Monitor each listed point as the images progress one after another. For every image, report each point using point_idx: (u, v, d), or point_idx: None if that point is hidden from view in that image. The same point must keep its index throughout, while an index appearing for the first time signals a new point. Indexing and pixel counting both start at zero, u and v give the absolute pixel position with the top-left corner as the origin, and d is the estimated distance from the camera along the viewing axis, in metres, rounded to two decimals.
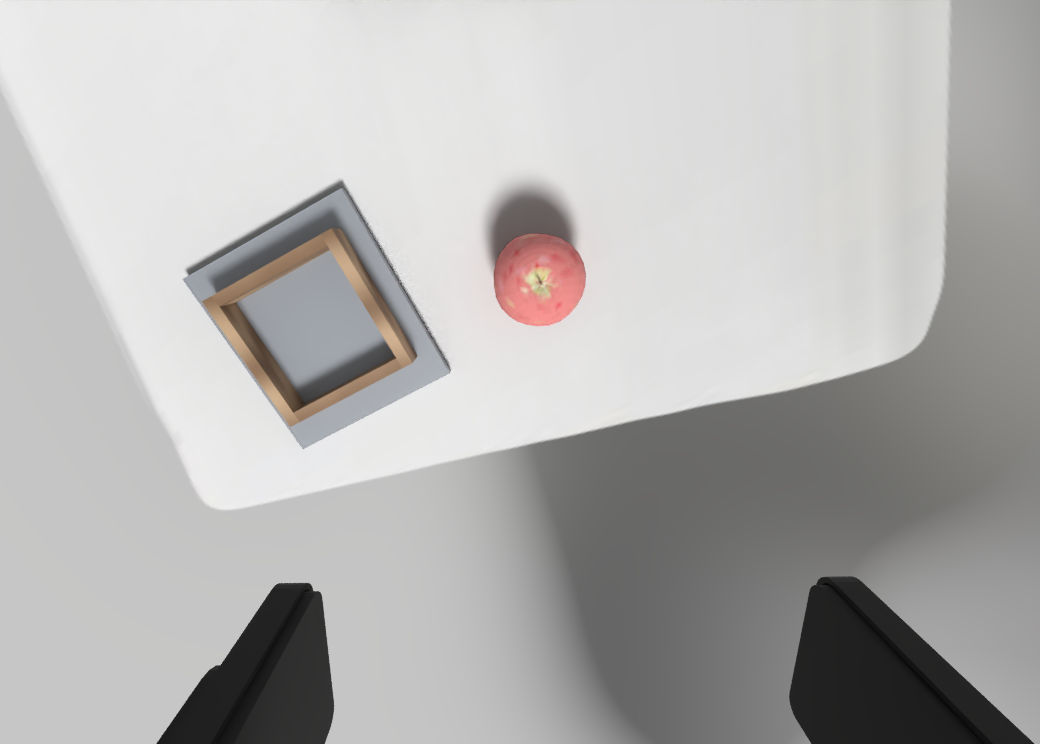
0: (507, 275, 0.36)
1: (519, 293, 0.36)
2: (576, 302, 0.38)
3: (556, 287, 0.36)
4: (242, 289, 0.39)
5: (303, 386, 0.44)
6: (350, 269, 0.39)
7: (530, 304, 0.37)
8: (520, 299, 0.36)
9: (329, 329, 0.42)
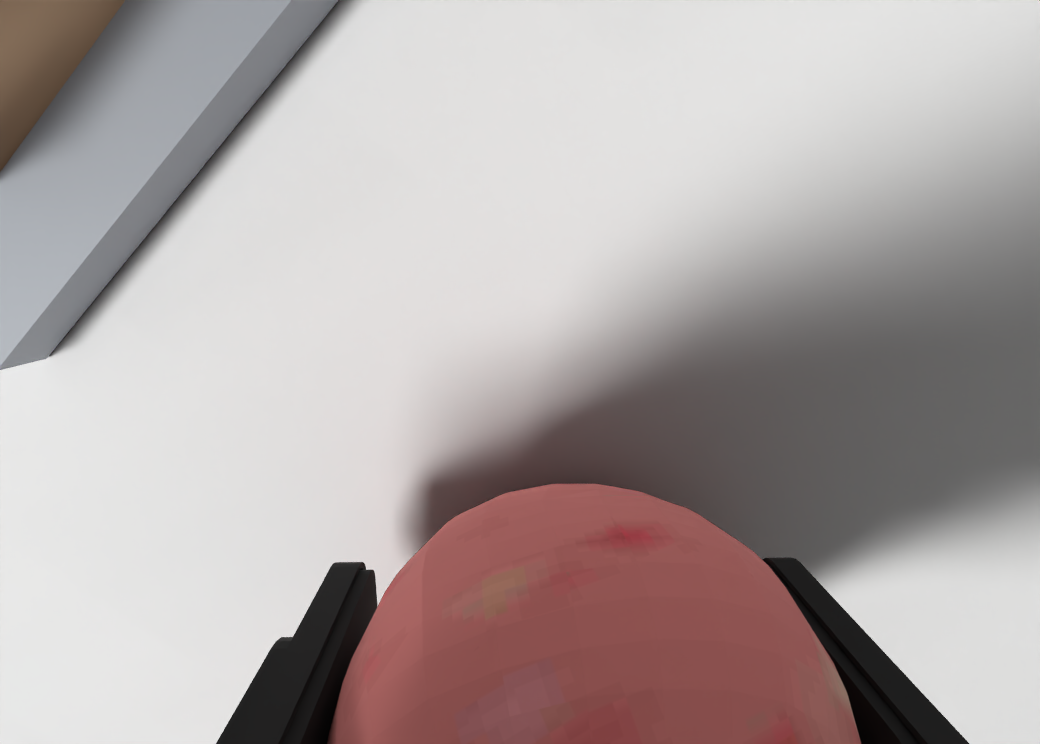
0: None
1: None
2: None
3: None
4: None
5: None
6: None
7: None
8: None
9: None
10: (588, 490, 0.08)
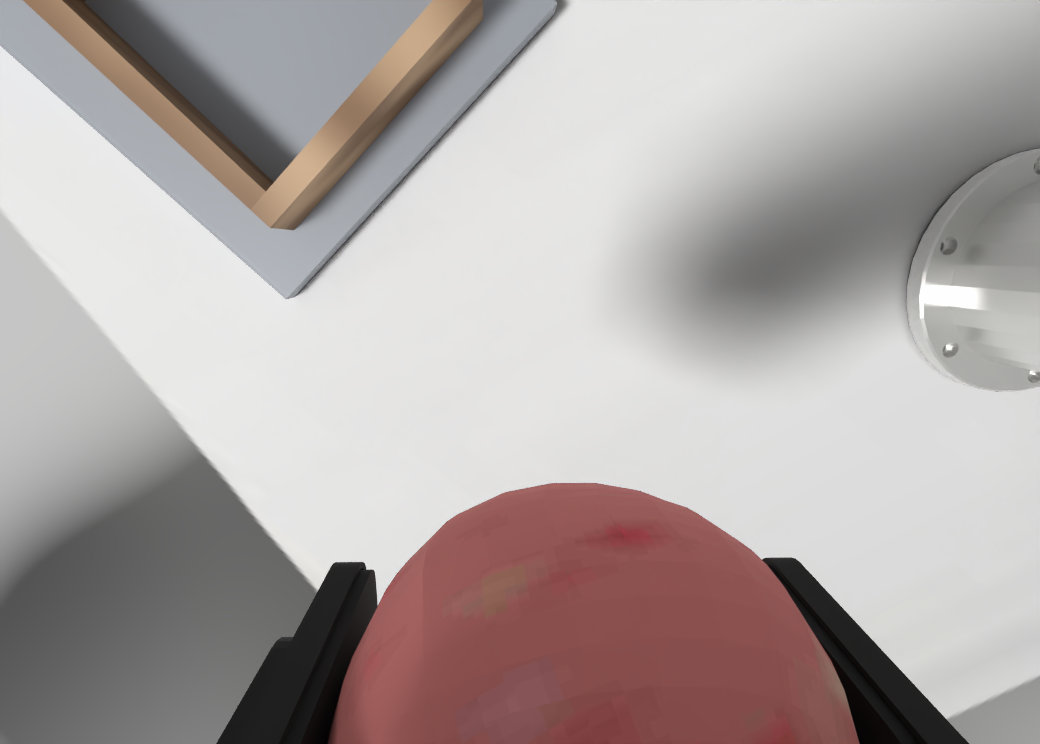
0: None
1: None
2: None
3: None
4: None
5: None
6: (413, 49, 0.18)
7: None
8: None
9: (275, 31, 0.20)
10: (587, 489, 0.08)
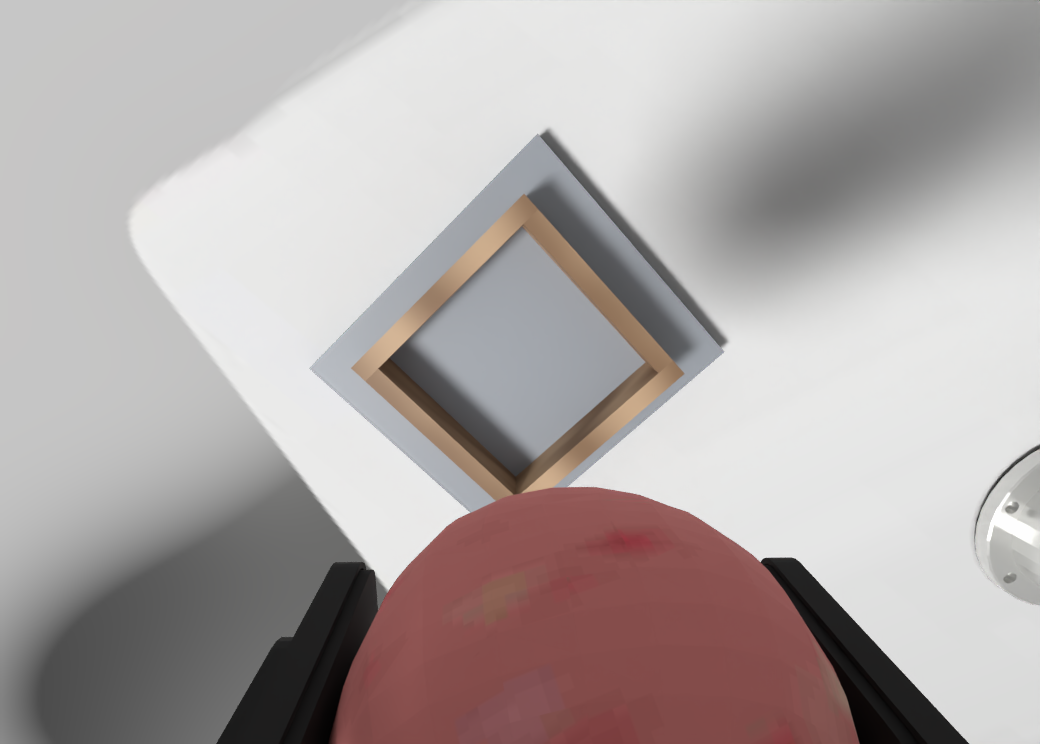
0: None
1: None
2: None
3: None
4: (561, 258, 0.24)
5: (416, 351, 0.27)
6: (631, 410, 0.26)
7: None
8: None
9: (519, 373, 0.28)
10: (588, 494, 0.08)
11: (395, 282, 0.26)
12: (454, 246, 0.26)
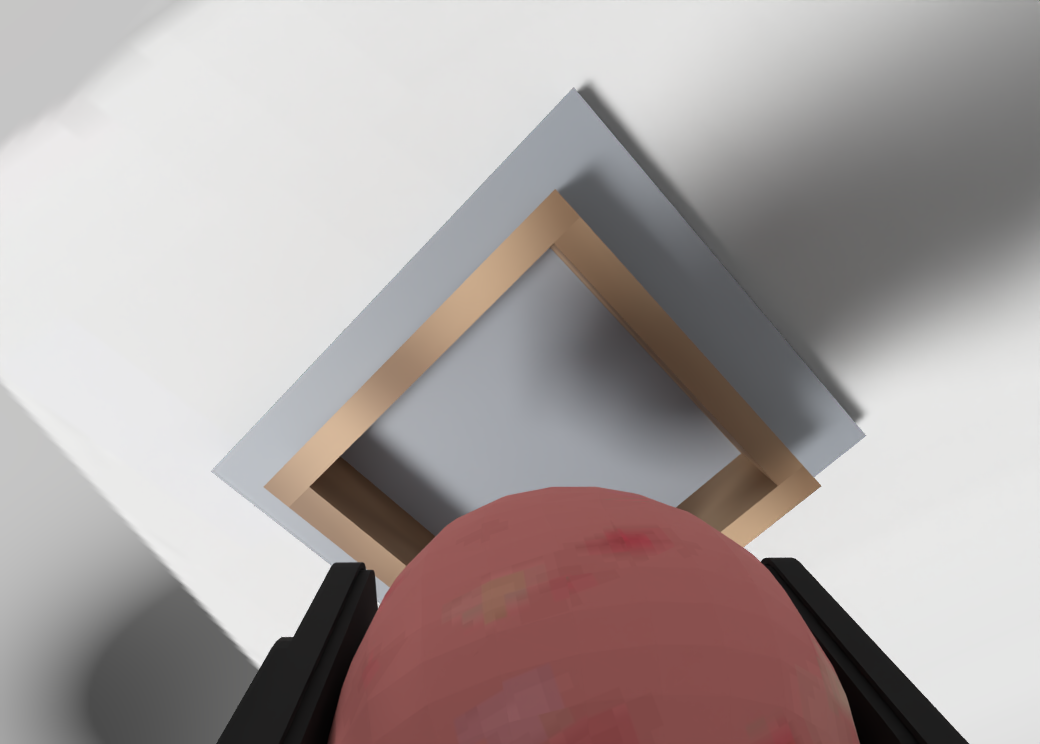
0: None
1: None
2: None
3: None
4: (619, 302, 0.14)
5: (380, 442, 0.17)
6: None
7: None
8: None
9: (542, 472, 0.18)
10: (588, 493, 0.08)
11: (341, 337, 0.16)
12: (436, 279, 0.16)
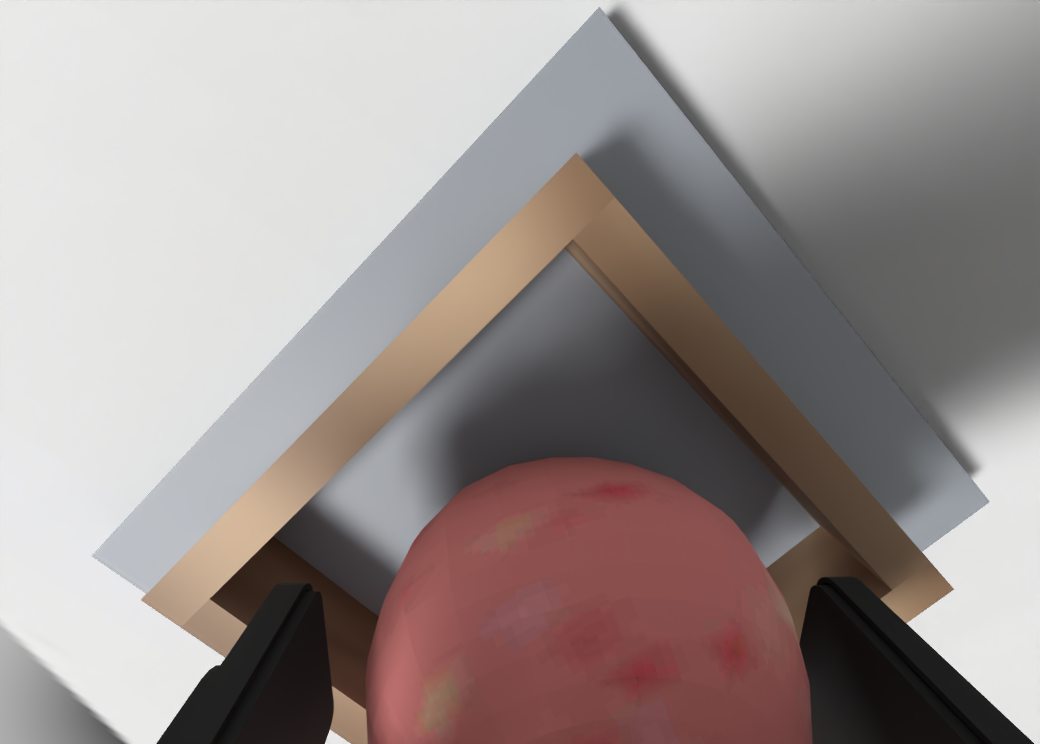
0: (597, 657, 0.06)
1: None
2: None
3: None
4: (672, 329, 0.09)
5: (326, 516, 0.12)
6: None
7: None
8: None
9: None
10: (583, 459, 0.09)
11: (266, 373, 0.11)
12: (399, 291, 0.11)
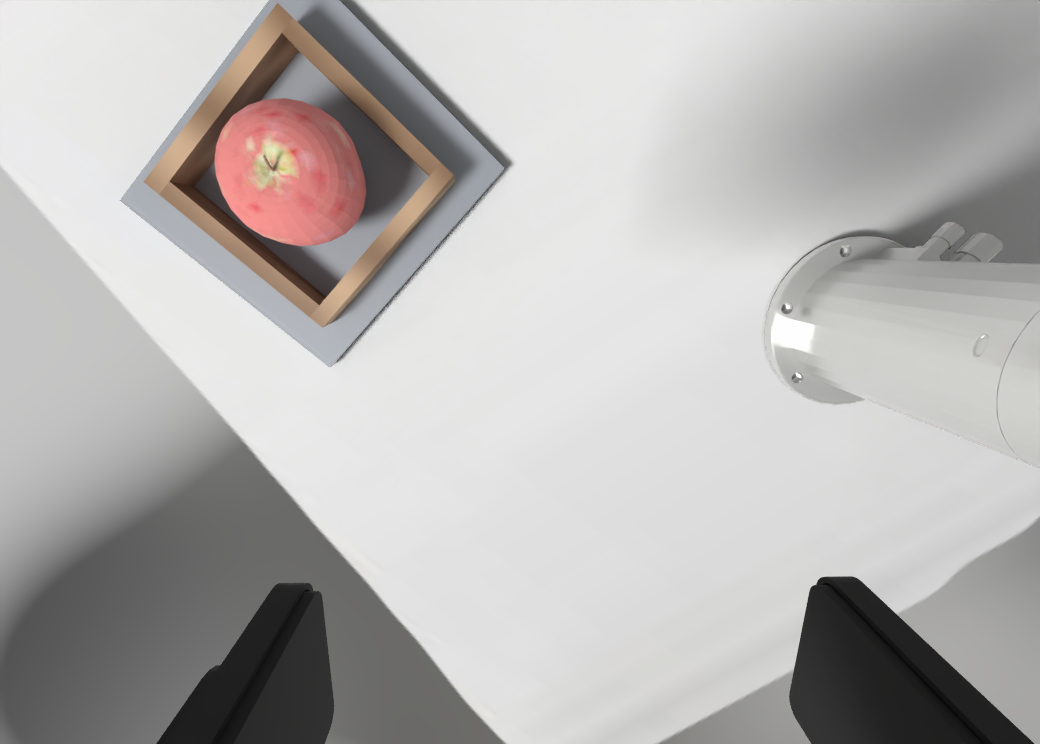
0: (262, 112, 0.23)
1: (241, 138, 0.23)
2: (278, 236, 0.25)
3: (276, 193, 0.24)
4: (322, 65, 0.27)
5: None
6: (411, 213, 0.29)
7: (235, 162, 0.23)
8: (234, 144, 0.23)
9: None
10: None
11: (188, 110, 0.29)
12: None
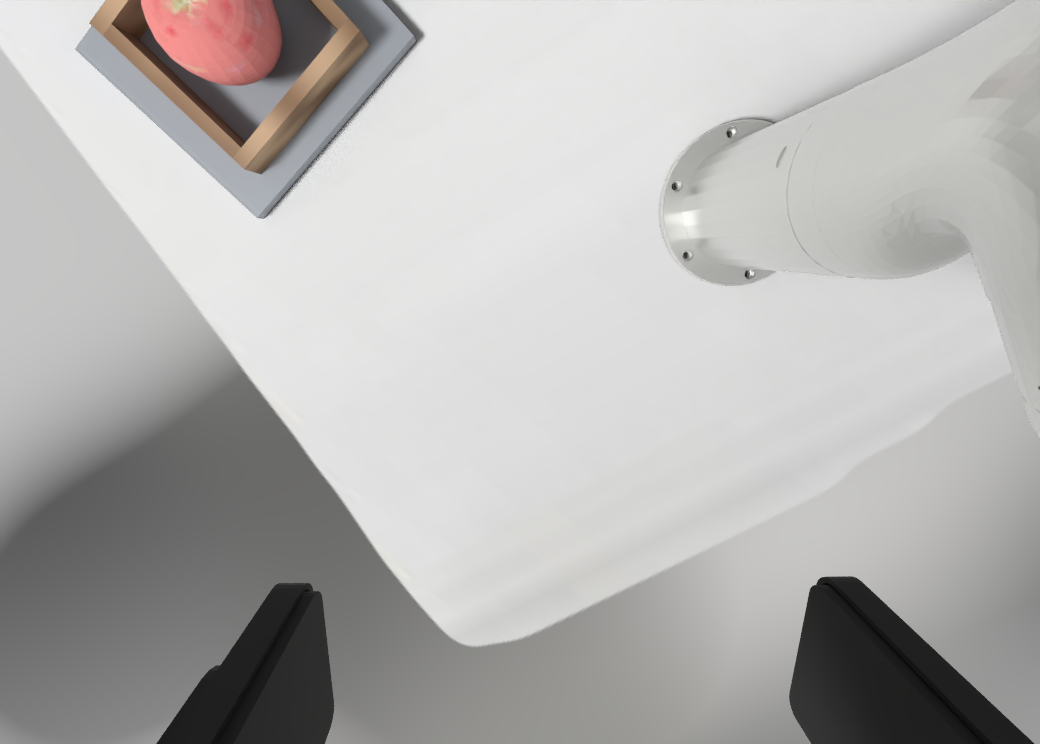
0: None
1: None
2: (194, 64, 0.29)
3: (188, 17, 0.28)
4: None
5: None
6: (322, 65, 0.33)
7: None
8: None
9: None
10: None
11: None
12: None
